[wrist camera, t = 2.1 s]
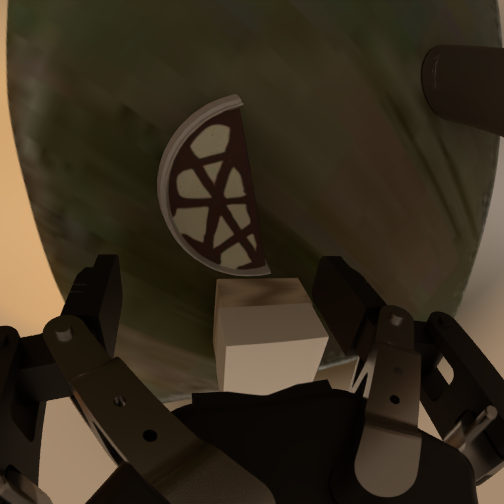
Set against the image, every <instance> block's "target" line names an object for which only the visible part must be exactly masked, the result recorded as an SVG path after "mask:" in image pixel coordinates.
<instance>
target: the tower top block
mask: <svg viewBox="0 0 504 504" xmlns="http://www.w3.org/2000/svg"><path fill="white" fill-rule="evenodd" d="M328 338H329V336H328V334H327V333H326V331H325V329H324V327H323V325H322V324H321V322H320V320H319V318H318V316H317V315H316V313H315V311H314V309H313V307H312V306H311V304H310V303H300V304H284V305H267V306H247V307H224V308H219V314H218V337H217V363H216V372H217V378H218V384H219V389H220V392H226V391H229V392H236V393H245V394H254V395H269V394H272V393H275V392H277V391H280V390H283V389H286V388H288V387H291V386H293V385H296V384H301V383H308V382H313V379H314V377H315V374H316V371H317V369H318V366H319V363H320V360H321V358H322V355H323V352H324V349H325V346H326V344H327V341H328Z"/></svg>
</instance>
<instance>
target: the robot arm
mask: <svg viewBox="0 0 504 504" xmlns="http://www.w3.org/2000/svg"><path fill="white" fill-rule="evenodd" d="M422 82H423V88H424V92H425V96H426V98H427V101H428V103H429V104H430V106H431V108H432V109H433V110H434V111H435V112H436V114H438V115H439V116H440V117H442V118H444V119H447V120H451V121H454V122H458V123H461V124H465V125H468V126H471V127H474V128H478V129H481V130H484V131H487V132H490V133H493V134H496V135H499V136H502V137H504V48H498V47H485V46H467V45H439V46H436V47H434V48H433V49H432V50H430V52H429V53H428V54H427V56H426V58H425V61H424V64H423V69H422ZM312 297H313V301H314V303H315V305H316V306H317V308H318V310H319V311H320V313H321V315H322V316H323V318H324V320H325V321H326V323H327V325H328V327H329V328H330V330H331V332H332V333H333V335H334V337H335V338H336V340H337V342H338V344H339V345H340V347H341V349H342V350H343V352H344V354H345V356H351V355H357V354H358V355H359V358H358V360H357V363H356V366H355V370H354V373H353V377H352V380H351V384H350V387H349V391H345V390H339V389H332V388H331V386H330V384H329V382H328V380H327V379H326V380H321V381H314V382H308V383H301V384H296V385H293V386H291V387H288V388H286V389H283V390H280V391H277V392H275V393H272V394H269V395H254V394H245V393H236V392H229V391H226V392H209V393H192V404H189V405H185V406H182V407H180V408H177V409H175V410H173V411H172V412H170V411H169V410H168V409H167V408H166V407H165V406H164V405H163V404H162V403H161V402H160V401H159V400H158V399H157V398H156V397H155V396H154V395H153V394H152V392H151V391H150V390H149V389H148V388H147V387H146V386H145V385H144V384H143V383H142V382H141V381H140V380H139V379H138V377H137V376H136V375H135V374H134V373H133V372H132V371H131V370H130V369H129V367H128V366H127V365H126V364H125V363H124V362H123V361H122V360H121V359H120V358H119V357H115V358H113V357H114V350H115V343H116V337H117V331H118V325H119V319H120V313H121V308H122V285H121V276H120V266H119V258H118V255H108V254H99V255H98V257H97V259H96V261H95V264H94V266H93V267H85V268H84V269H83V270H82V271H81V272H80V273H79V274H77V276H76V278H75V281H74V283H73V285H72V288H71V290H70V292H69V295H68V297H67V300H66V302H65V305H64V307H63V310H62V312H61V315H60V316H58V317H56V318H54V319H52V320H50V321H49V322H48V323H47V324H46V325H45V327H44V329H43V333H41V334H38V335H33V336H27V337H22V338H20V336H19V334H18V331H17V330H16V329H15V328H13V327H11V326H0V504H53V503H52V501H51V500H50V498H49V497H48V496H47V494H45V493H44V492H43V491H42V490H41V489H40V488H38V476H39V460H40V448H41V439H42V429H43V421H44V415H45V408H46V402H47V401H48V400H53V399H59V398H64V397H70V399H71V401H72V402H73V404H74V406H75V407H76V409H77V410H78V412H79V413H80V415H81V416H82V418H83V419H84V421H85V422H86V424H87V425H88V426H89V428H90V429H91V431H92V432H93V434H94V435H95V437H96V438H97V439H98V441H99V442H100V444H101V445H102V447H103V448H104V450H105V451H106V453H107V454H108V455H109V457H110V458H111V459H112V460H113V462H114V463H115V464H116V465H117V467H118V468H117V469H116V470H115V471H114V472H113V473H112V474H111V476H110V477H109V478H108V479H107V480H106V481H105V482H104V484H102V486H101V487H100V488H99V489H98V490H97V491H96V492H95V493H94V494H93V496H92V497H91V498H90V499H89V500H88V501H87V502H86V503H85V504H478V499H477V492H476V486H478V485H480V484H482V483H483V482H485V481H486V480H487V479H489V478H490V477H492V476H493V475H494V474H496V473H497V472H498V471H499V470H501V469H502V468H503V467H504V380H503V378H502V377H501V376H500V374H499V373H498V372H497V370H496V369H495V368H494V367H493V365H492V364H491V363H490V361H489V360H488V359H487V358H486V356H485V355H484V354H483V353H482V351H481V350H480V349H479V348H478V346H477V345H476V344H475V343H474V342H473V340H472V339H471V338H470V337H469V336H468V334H467V333H466V332H465V331H464V330H463V329H462V327H461V326H460V325H459V324H458V323H457V322H456V320H455V319H454V318H452V317H451V316H450V315H448V314H446V313H443V312H433V313H431V314H430V316H429V318H428V320H427V322H422V321H414V320H413V317H412V316H411V315H410V313H409V312H407V311H406V310H404V309H403V308H401V307H398V306H394V305H387V304H386V303H385V302H384V301H383V299H382V298H381V297H380V296H379V295H378V294H377V292H376V291H375V290H374V289H373V288H372V287H371V285H370V284H369V283H368V282H367V281H366V280H365V279H364V277H363V276H362V275H361V274H360V273H358V272H357V271H355V270H354V269H352V268H351V267H349V265H348V264H347V263H346V262H345V261H344V260H343V259H342V257H340V256H323V257H322V258H321V259H320V261H319V265H318V269H317V273H316V277H315V281H314V284H313V289H312ZM443 356H444V357H445V359H446V360H447V362H448V363H449V364H450V365H451V367H452V368H453V372H454V378H453V380H452V382H451V383H450V385H449V384H448V383H447V382H446V380H445V379H444V377H443V376H442V374H441V373H440V371H439V370H438V368H437V365H438V364H439V362H440V361H441V359H442V358H443ZM419 401H421V403H422V405H423V407H424V408H425V410H426V412H427V414H428V415H429V417H430V419H431V421H432V422H433V424H434V426H435V428H436V429H437V431H438V433H439V435H440V436H441V438H442V440H443V441H441V440H439V439H437V438H436V437H434V436H432V435H430V434H428V433H426V432H424V431H422V430H420V429H419V428H418V415H419Z"/></svg>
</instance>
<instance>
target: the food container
mask: <svg viewBox="0 0 504 504" xmlns="http://www.w3.org/2000/svg"><path fill="white" fill-rule="evenodd" d="M242 105H244V104H243V103H242V102H241V98H240V97H239V96H238V95H237V94H234V95H230V96H226V97H223V98H220V99H218V100H216V101H213V102H211V103H209V104H207V105H205V106H204V107H202V108H201V109H199V110H198V111H196V112H195V113H193V114H192V115H191V116H190V117H189V118H188V119H187V120H185V121H184V122H183V123H182V124H181V125H180V127H179V128H178V129H177V131H176V132H175V133H174V135H173V136H172V137H171V139H170V141H169V143H168V145H167V147H166V148H165V150H164V153H163V156H162V159H161V162H160V165H159V171H158V178H157V191H158V199H159V204H160V209H161V211H162V214H163V216H164V219H165V221H166V224H167V226H168V228H169V230H170V231H171V233H172V235H173V236H174V238H175V240H176V241H177V242H178V243H179V244H180V245H181V247H182V248H183V249H184V250H185V251H186V252H187V253H189V254H190V255H191V256H192V257H193V258H195V259H196V260H198V261H199V262H201V263H203V264H204V265H206V266H208V267H210V268H212V269H215V270H217V271H220V272H223V273H227V274H231V275H238V276H260V275H266V274H271V272H270V269H269V267H268V265H267V262H266V260H265V255H264V252H263V246H262V240H261V234H260V227H259V221H258V214H257V207H256V200H255V194H254V188H253V183H252V178H251V172H250V166H249V161H248V155H247V149H246V143H245V137H244V132H243V126H242V121H241V115H240V110H239V108H238V107H239V106H242Z"/></svg>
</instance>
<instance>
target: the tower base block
mask: <svg viewBox="0 0 504 504" xmlns="http://www.w3.org/2000/svg"><path fill="white" fill-rule="evenodd" d="M300 303H310V304H311V306H312V305H313V304H312V302H311V300H310V298H309V297H308V295H307V293H306V291H305V290H304V288H303V286H302V284H301V283H300V281H299V279H298V278H265V279H217V283H216V298H215V313H214V329H213V345H214V351H215V357H216V363H217V337H218V314H219V308H224V307H247V306H267V305H284V304H300Z"/></svg>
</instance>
